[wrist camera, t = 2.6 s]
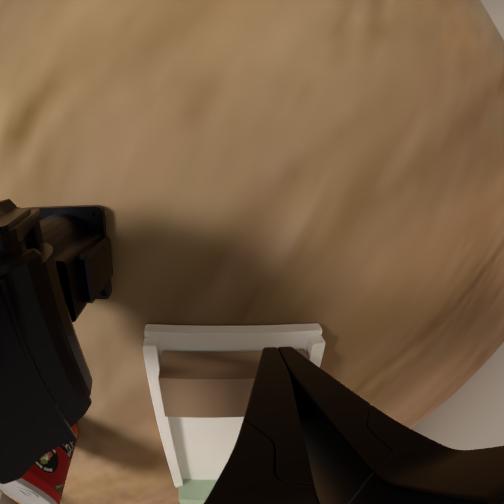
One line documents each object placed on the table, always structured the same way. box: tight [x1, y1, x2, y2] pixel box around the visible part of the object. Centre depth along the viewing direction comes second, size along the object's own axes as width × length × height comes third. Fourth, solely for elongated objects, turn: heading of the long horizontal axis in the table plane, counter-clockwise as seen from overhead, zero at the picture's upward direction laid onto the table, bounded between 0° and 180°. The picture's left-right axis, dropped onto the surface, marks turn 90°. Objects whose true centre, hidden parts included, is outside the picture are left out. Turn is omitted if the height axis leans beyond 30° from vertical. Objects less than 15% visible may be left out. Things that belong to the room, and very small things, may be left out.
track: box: [142, 323, 326, 504], centre depth 24 cm, size 13×24×4 cm, turn 176°
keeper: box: [158, 349, 308, 418], centre depth 21 cm, size 10×4×3 cm, turn 86°
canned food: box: [0, 423, 78, 504], centre depth 18 cm, size 8×8×11 cm
